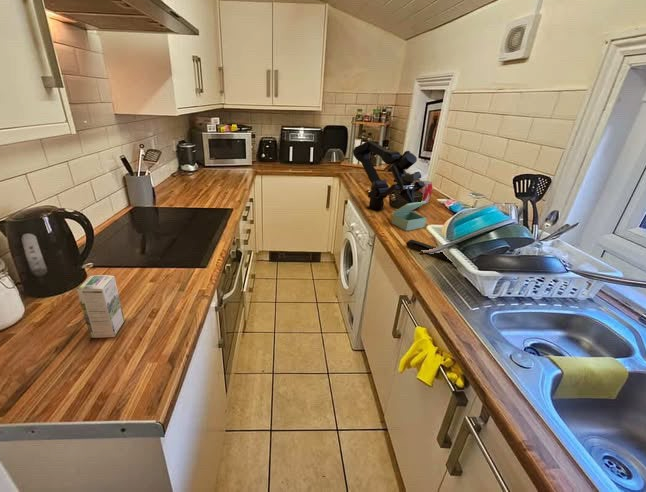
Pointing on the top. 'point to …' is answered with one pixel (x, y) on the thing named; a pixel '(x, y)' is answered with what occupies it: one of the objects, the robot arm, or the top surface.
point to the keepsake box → (408, 220)
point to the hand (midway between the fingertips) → (413, 204)
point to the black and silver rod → (425, 248)
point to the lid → (409, 207)
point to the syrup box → (101, 306)
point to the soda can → (426, 191)
